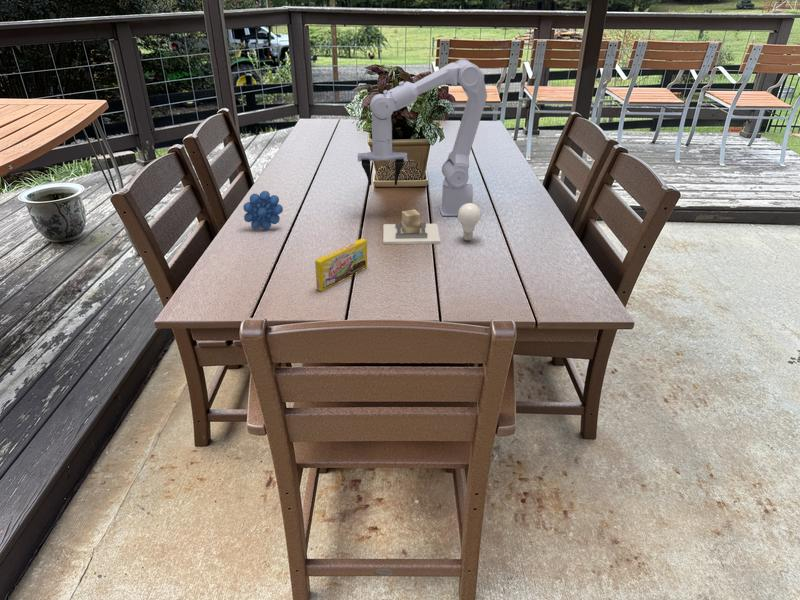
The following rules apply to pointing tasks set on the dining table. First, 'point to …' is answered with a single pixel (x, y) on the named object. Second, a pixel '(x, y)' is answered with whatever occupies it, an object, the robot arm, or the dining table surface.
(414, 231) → the birch block
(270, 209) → the blue knobbed flower
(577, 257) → the dining table surface
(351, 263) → the candy box
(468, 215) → the lightbulb
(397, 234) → the socket board
